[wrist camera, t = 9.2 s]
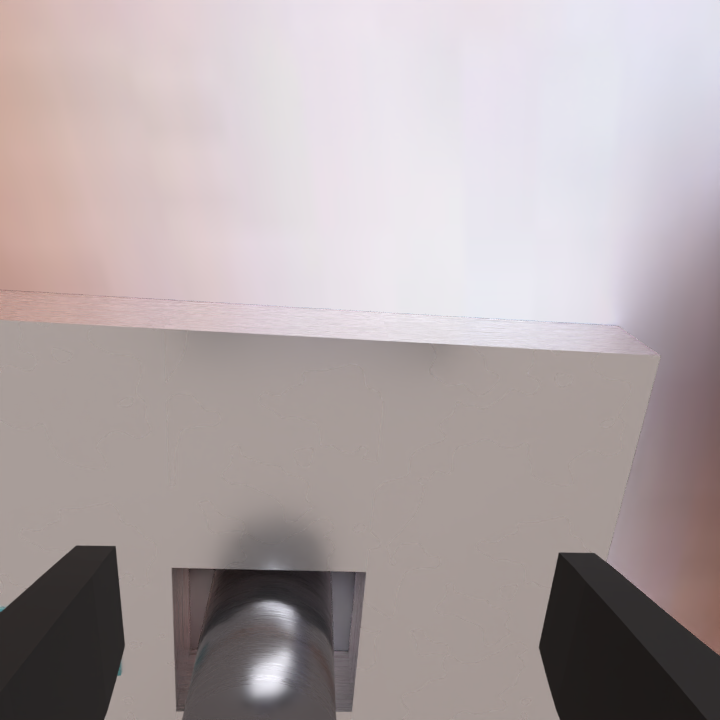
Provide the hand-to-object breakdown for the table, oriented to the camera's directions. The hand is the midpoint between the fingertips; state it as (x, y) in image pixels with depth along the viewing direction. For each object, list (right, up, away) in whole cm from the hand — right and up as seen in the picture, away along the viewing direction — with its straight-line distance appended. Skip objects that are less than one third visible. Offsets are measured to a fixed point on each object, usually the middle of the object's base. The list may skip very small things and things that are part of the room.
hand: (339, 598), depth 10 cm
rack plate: (-3, -2, +11) cm, 11 cm away
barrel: (-3, -4, +11) cm, 12 cm away
